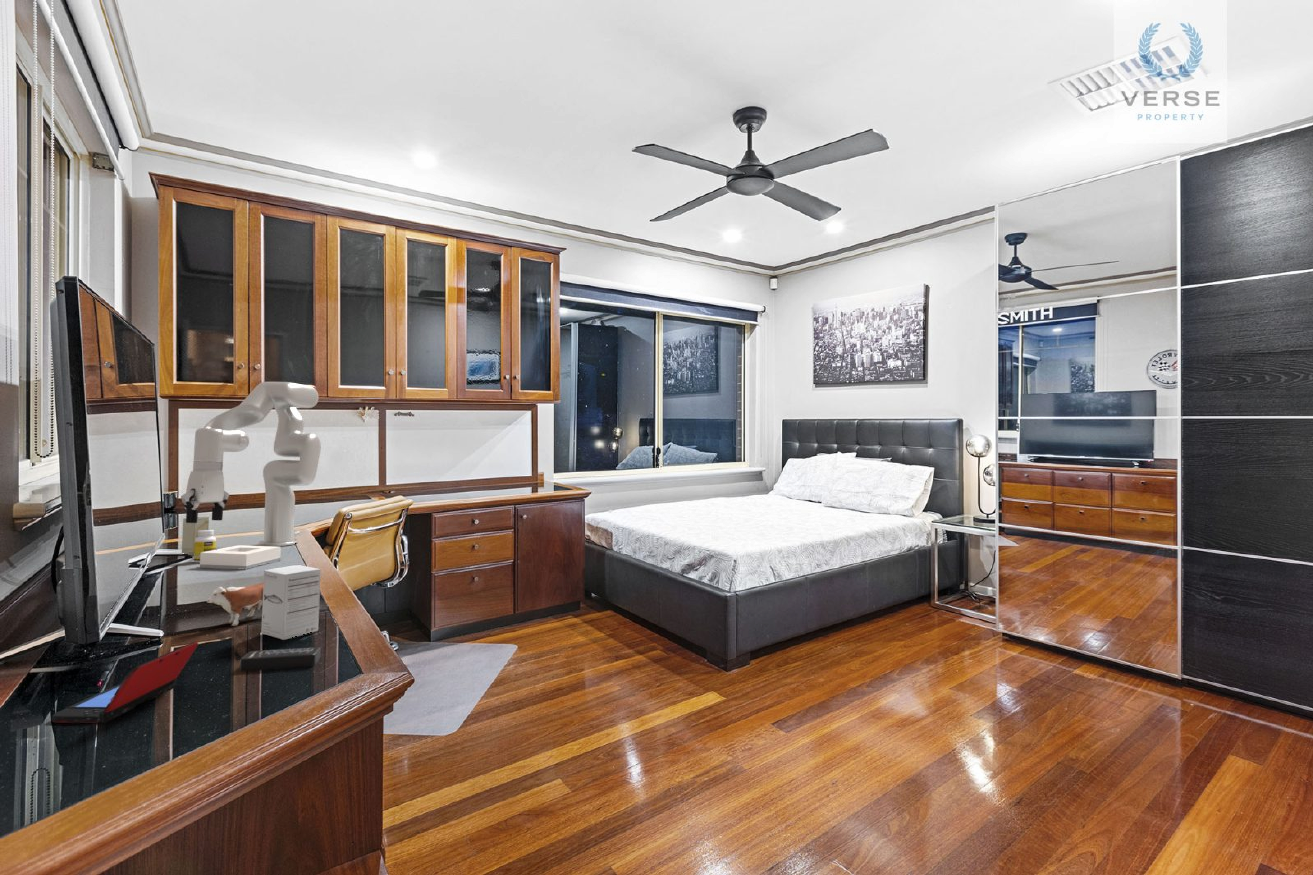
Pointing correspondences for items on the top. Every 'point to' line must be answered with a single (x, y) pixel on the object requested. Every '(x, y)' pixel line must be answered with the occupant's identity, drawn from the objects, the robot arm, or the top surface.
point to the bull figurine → (238, 600)
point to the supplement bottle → (204, 543)
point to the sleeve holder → (239, 557)
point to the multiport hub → (280, 659)
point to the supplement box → (290, 601)
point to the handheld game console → (130, 689)
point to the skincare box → (192, 533)
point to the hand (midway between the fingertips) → (204, 521)
